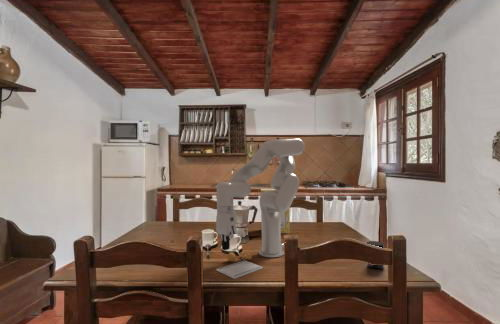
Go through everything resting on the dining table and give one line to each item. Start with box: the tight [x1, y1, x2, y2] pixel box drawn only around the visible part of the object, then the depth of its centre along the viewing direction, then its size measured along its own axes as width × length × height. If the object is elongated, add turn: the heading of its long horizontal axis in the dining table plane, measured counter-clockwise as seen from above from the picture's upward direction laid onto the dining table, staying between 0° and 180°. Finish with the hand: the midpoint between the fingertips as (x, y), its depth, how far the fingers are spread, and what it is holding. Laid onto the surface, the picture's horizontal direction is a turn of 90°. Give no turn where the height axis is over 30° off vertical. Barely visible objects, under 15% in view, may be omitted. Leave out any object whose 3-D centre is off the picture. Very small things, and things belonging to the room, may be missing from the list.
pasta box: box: [260, 188, 291, 234], centre depth 188 cm, size 18×10×28 cm, turn 88°
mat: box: [216, 259, 264, 280], centre depth 122 cm, size 16×12×1 cm
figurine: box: [226, 252, 253, 262], centre depth 133 cm, size 8×6×12 cm
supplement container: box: [366, 240, 385, 270], centre depth 122 cm, size 7×7×10 cm
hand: (225, 249), depth 129 cm, fingers closed
